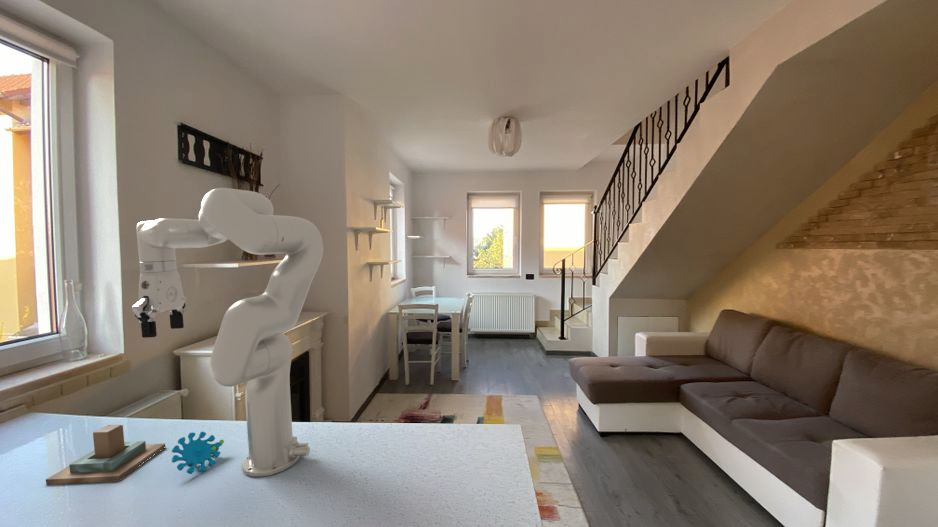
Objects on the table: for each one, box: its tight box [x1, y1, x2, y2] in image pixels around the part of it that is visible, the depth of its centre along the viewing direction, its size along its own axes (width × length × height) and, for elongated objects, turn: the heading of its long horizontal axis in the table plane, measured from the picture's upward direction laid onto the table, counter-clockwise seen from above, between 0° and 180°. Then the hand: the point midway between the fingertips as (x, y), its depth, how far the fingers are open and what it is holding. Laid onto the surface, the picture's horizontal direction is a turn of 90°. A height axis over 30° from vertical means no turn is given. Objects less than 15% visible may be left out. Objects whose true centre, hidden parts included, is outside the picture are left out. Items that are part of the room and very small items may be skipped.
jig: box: [45, 440, 166, 485], centre depth 94 cm, size 16×14×3 cm
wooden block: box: [92, 424, 125, 459], centre depth 94 cm, size 4×4×8 cm
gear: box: [171, 431, 225, 475], centre depth 93 cm, size 11×6×10 cm
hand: (164, 332), depth 102 cm, fingers open, 9 cm apart
